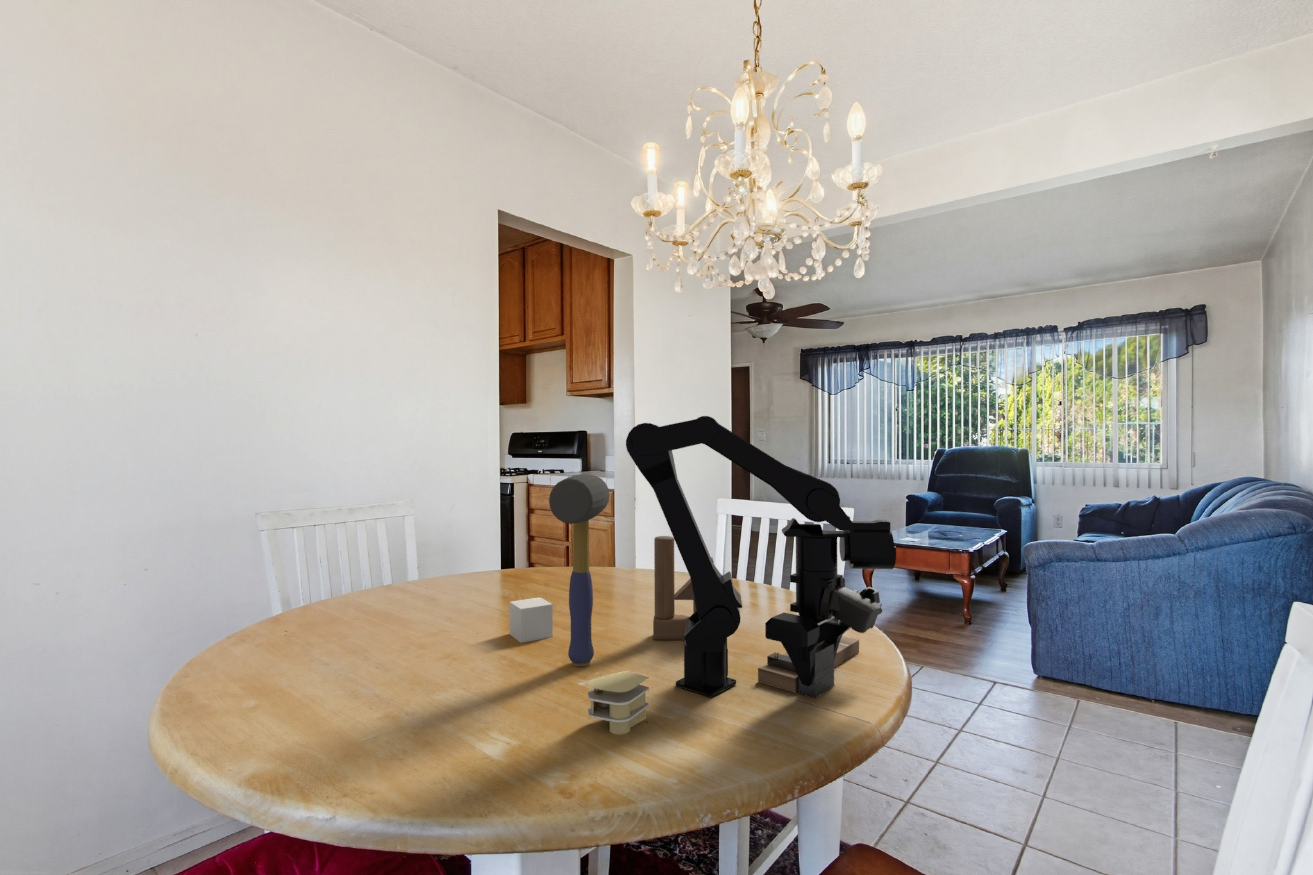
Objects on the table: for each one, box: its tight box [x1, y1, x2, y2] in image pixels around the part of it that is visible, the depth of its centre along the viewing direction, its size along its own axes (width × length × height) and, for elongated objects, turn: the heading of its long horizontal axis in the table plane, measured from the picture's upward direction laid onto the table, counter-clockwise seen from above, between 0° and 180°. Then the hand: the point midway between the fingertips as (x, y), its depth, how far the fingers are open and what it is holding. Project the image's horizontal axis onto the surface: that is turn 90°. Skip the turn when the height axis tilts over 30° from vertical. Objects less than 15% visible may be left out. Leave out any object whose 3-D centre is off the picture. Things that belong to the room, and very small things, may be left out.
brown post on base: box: [652, 535, 715, 641], centre depth 110 cm, size 4×11×18 cm, turn 88°
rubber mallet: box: [548, 473, 611, 667], centre depth 96 cm, size 12×8×30 cm, turn 171°
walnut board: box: [757, 635, 860, 693], centre depth 95 cm, size 22×6×2 cm, turn 139°
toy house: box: [587, 670, 650, 735], centre depth 76 cm, size 10×9×6 cm
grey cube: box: [508, 597, 554, 643], centre depth 111 cm, size 6×6×6 cm
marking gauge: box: [766, 641, 835, 699], centre depth 88 cm, size 6×9×6 cm
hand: (817, 678), depth 86 cm, fingers closed on marking gauge, 6 cm apart
